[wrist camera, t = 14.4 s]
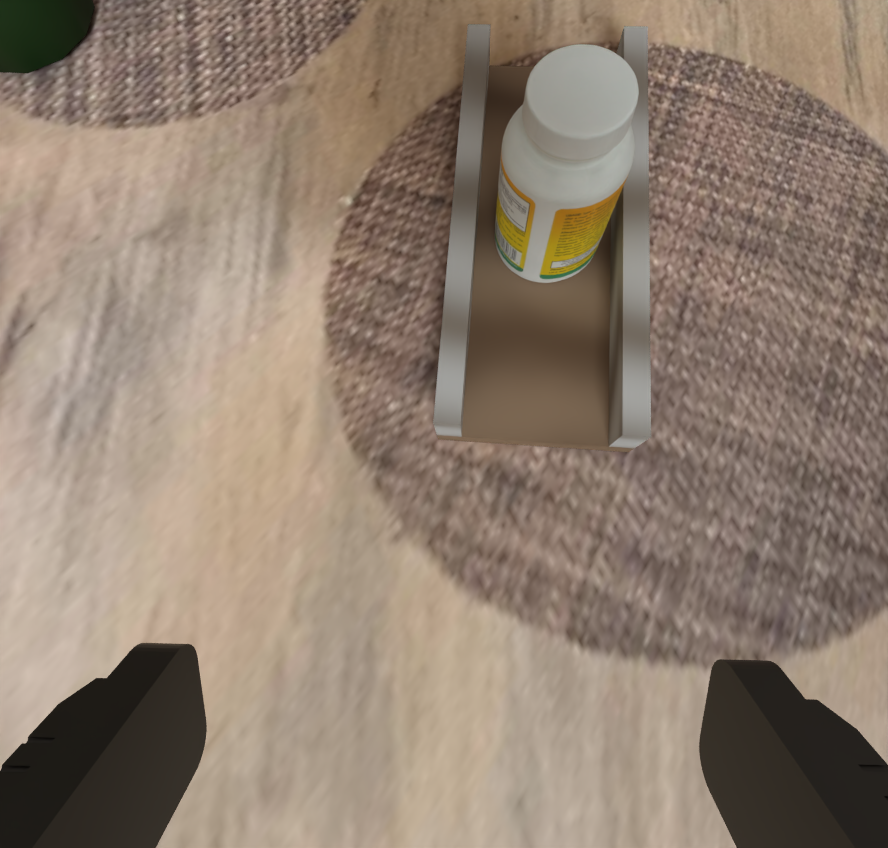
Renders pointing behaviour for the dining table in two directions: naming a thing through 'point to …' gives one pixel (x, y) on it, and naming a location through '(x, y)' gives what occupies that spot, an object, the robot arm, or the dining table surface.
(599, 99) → the supplement bottle
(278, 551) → the dining table surface
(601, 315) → the walnut track
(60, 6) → the bottle
